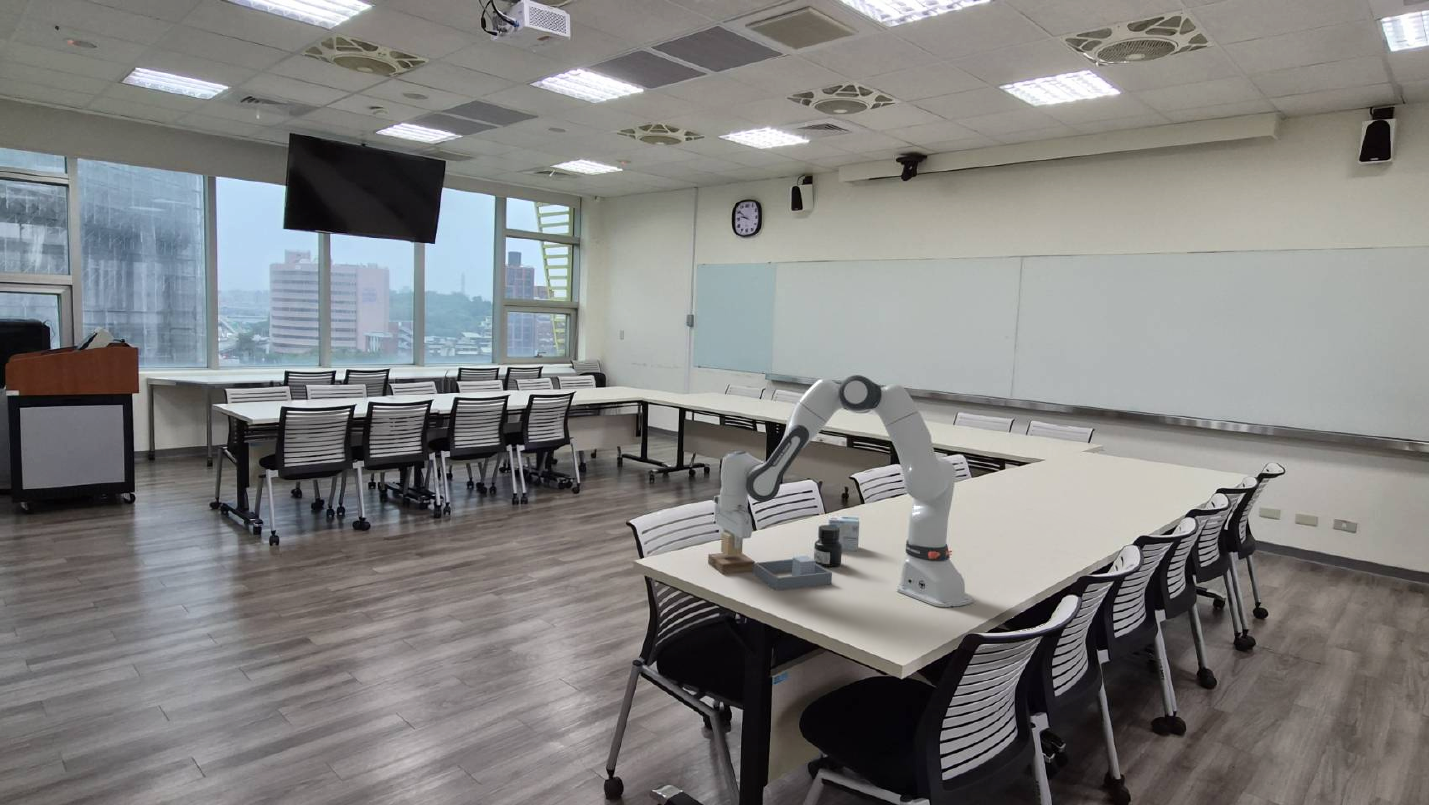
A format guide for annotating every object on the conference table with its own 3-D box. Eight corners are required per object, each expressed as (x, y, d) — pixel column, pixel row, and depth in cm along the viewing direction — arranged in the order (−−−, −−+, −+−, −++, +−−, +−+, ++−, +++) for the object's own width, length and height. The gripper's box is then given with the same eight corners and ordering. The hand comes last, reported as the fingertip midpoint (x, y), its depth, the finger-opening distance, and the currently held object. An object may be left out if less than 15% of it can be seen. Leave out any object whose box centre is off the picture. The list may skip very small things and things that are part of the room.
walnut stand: (754, 570, 245) (754, 561, 245) (722, 574, 240) (722, 564, 240) (738, 560, 255) (739, 551, 255) (708, 563, 250) (708, 554, 250)
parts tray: (831, 584, 235) (832, 572, 235) (777, 590, 228) (777, 578, 227) (804, 568, 249) (805, 557, 249) (752, 573, 242) (753, 562, 241)
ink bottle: (808, 560, 258) (810, 524, 257) (831, 558, 261) (833, 523, 260) (822, 569, 249) (824, 532, 248) (846, 567, 252) (848, 530, 251)
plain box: (814, 579, 239) (815, 560, 238) (800, 581, 237) (801, 562, 236) (805, 574, 243) (806, 555, 243) (791, 576, 241) (792, 557, 241)
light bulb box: (856, 546, 277) (858, 516, 276) (858, 551, 270) (860, 521, 269) (826, 544, 278) (828, 514, 277) (827, 549, 271) (829, 519, 270)
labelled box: (742, 554, 246) (742, 535, 245) (727, 556, 244) (728, 536, 243) (735, 550, 250) (735, 531, 250) (721, 551, 248) (721, 532, 248)
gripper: (757, 509, 237) (755, 553, 239) (729, 494, 256) (727, 535, 257) (739, 510, 235) (737, 555, 236) (711, 495, 253) (710, 537, 255)
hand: (731, 545), depth 247 cm, fingers closed on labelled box, 5 cm apart
